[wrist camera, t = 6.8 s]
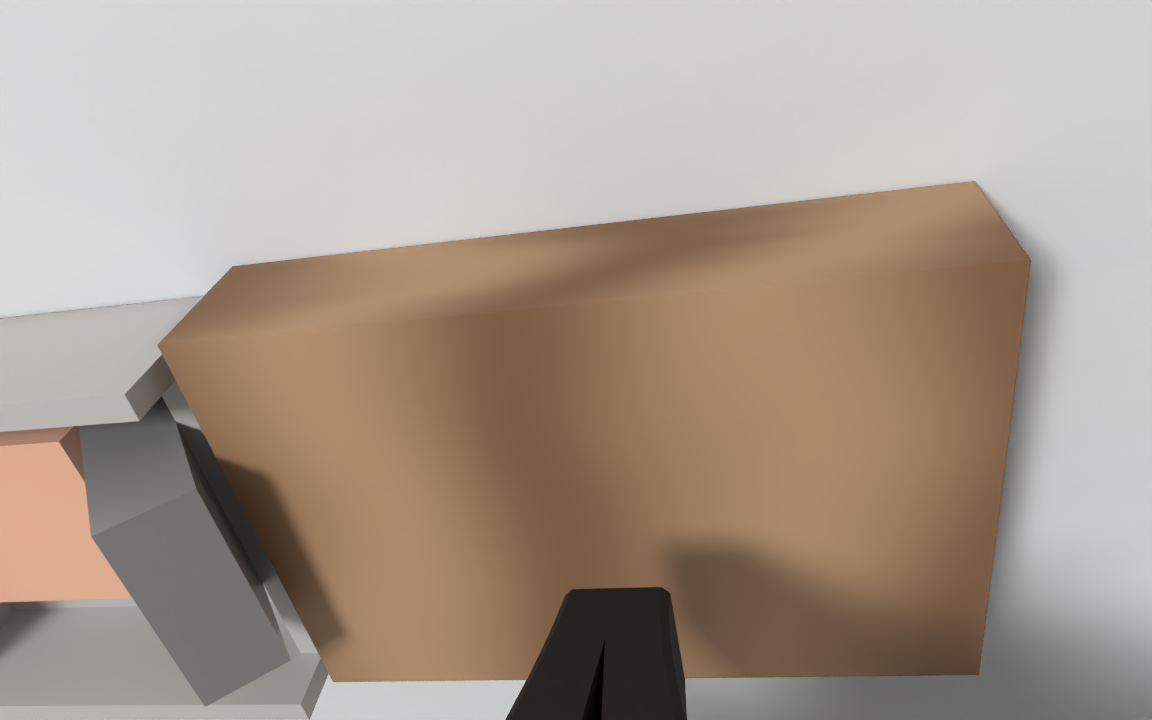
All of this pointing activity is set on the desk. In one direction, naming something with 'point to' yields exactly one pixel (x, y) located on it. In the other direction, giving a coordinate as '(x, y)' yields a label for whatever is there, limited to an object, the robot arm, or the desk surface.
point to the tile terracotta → (48, 521)
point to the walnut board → (630, 434)
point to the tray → (117, 626)
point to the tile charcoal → (178, 553)
